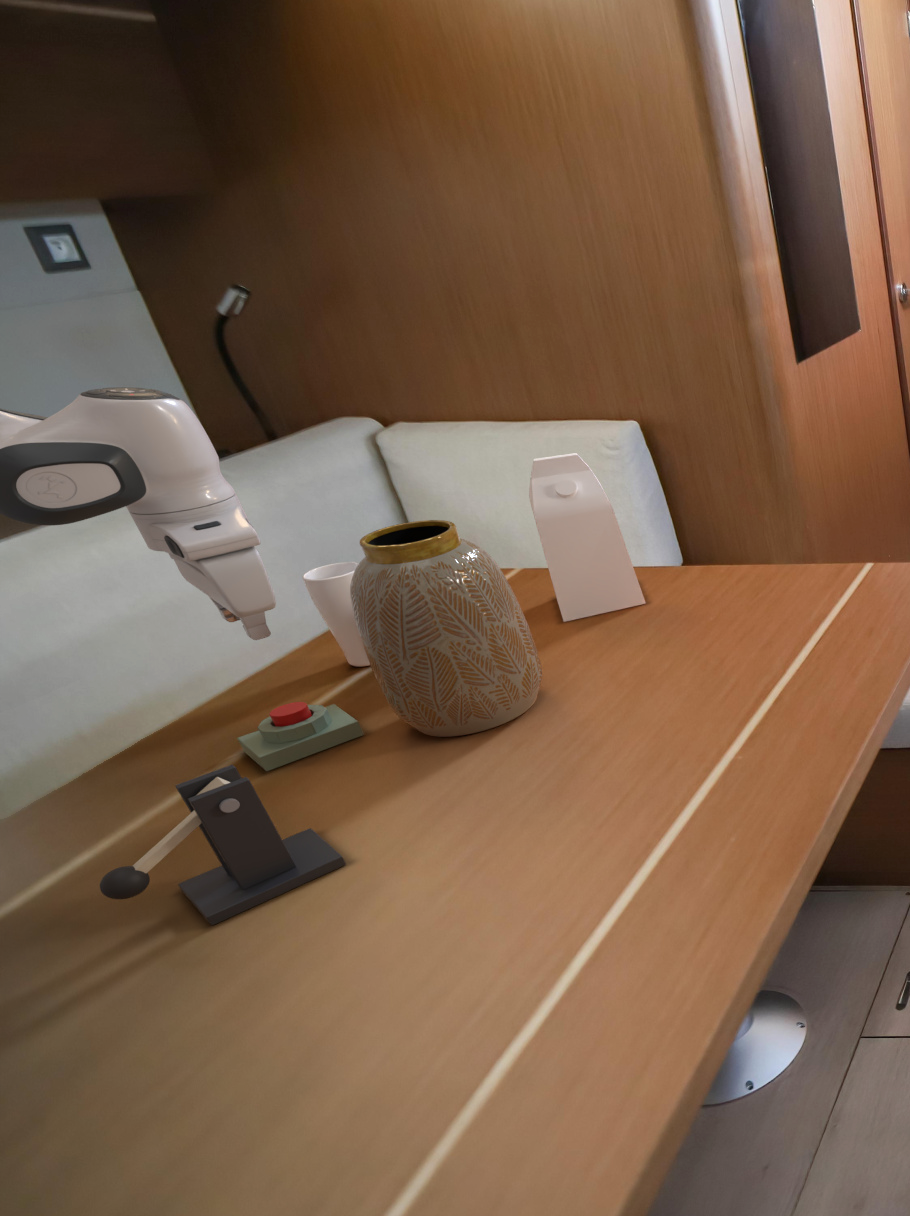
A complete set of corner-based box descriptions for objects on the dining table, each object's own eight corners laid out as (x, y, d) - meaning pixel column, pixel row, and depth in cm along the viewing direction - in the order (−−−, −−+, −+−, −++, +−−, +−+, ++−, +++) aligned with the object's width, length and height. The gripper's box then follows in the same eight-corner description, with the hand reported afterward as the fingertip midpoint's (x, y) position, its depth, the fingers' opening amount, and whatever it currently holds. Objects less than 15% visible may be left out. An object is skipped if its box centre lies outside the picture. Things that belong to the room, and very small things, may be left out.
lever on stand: (211, 926, 97) (150, 826, 91) (182, 892, 101) (122, 795, 96) (346, 864, 106) (298, 769, 100) (314, 835, 110) (266, 743, 104)
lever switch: (132, 909, 94) (94, 897, 91) (122, 896, 95) (85, 885, 93) (254, 796, 100) (221, 783, 97) (243, 786, 101) (210, 772, 99)
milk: (634, 581, 173) (594, 442, 162) (645, 603, 165) (603, 459, 154) (556, 598, 167) (507, 454, 155) (563, 621, 159) (513, 472, 147)
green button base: (266, 771, 120) (252, 745, 119) (244, 751, 124) (230, 726, 122) (364, 734, 128) (352, 709, 126) (340, 717, 132) (328, 692, 130)
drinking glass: (397, 663, 145) (358, 574, 139) (339, 674, 142) (296, 583, 135) (403, 645, 150) (366, 558, 144) (347, 655, 147) (306, 567, 140)
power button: (280, 730, 122) (275, 719, 122) (270, 722, 124) (264, 711, 123) (316, 718, 125) (311, 706, 124) (306, 710, 127) (300, 698, 126)
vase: (570, 674, 143) (513, 505, 131) (524, 736, 128) (455, 552, 117) (437, 687, 139) (365, 514, 127) (373, 753, 124) (285, 564, 112)
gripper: (130, 514, 115) (185, 616, 121) (186, 551, 105) (242, 660, 111) (202, 500, 120) (251, 599, 126) (261, 534, 110) (311, 639, 116)
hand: (247, 628), depth 118 cm, fingers open, 7 cm apart
